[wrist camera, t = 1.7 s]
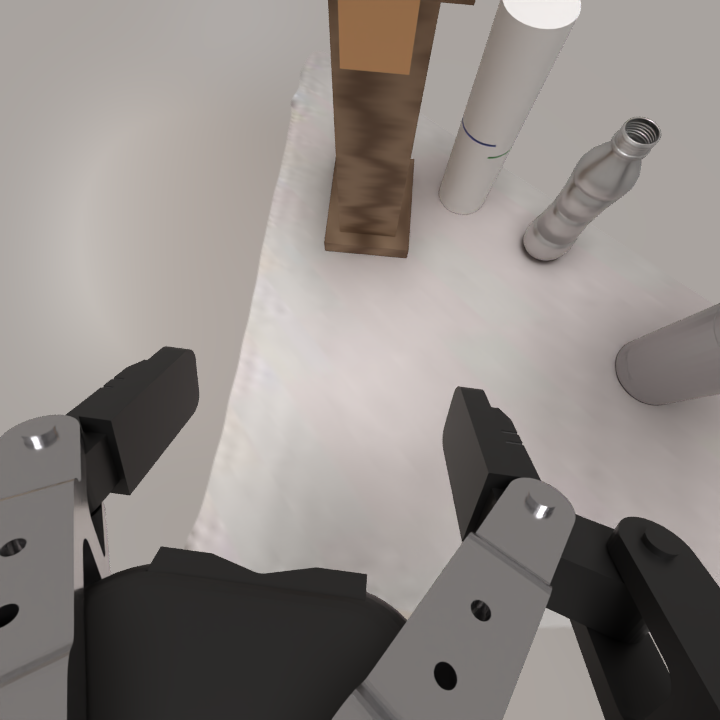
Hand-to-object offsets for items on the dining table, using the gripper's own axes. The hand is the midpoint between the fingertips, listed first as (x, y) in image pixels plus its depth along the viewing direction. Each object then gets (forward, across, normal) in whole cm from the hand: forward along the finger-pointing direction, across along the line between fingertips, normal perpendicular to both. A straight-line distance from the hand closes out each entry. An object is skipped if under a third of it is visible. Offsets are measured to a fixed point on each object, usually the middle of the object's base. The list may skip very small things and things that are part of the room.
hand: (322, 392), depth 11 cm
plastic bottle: (+49, -26, +2) cm, 55 cm away
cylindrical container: (+54, -13, -4) cm, 56 cm away
